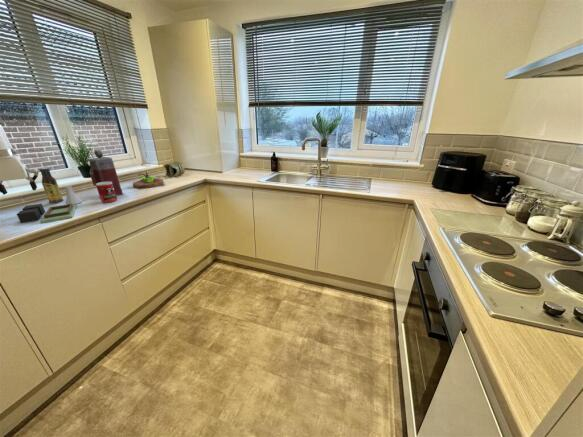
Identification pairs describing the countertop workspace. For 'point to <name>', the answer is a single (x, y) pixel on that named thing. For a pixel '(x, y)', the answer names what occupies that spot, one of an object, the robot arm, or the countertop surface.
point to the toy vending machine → (104, 171)
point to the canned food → (106, 192)
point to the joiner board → (59, 213)
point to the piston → (174, 169)
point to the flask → (71, 196)
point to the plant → (147, 182)
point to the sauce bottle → (50, 186)
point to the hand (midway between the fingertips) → (20, 191)
